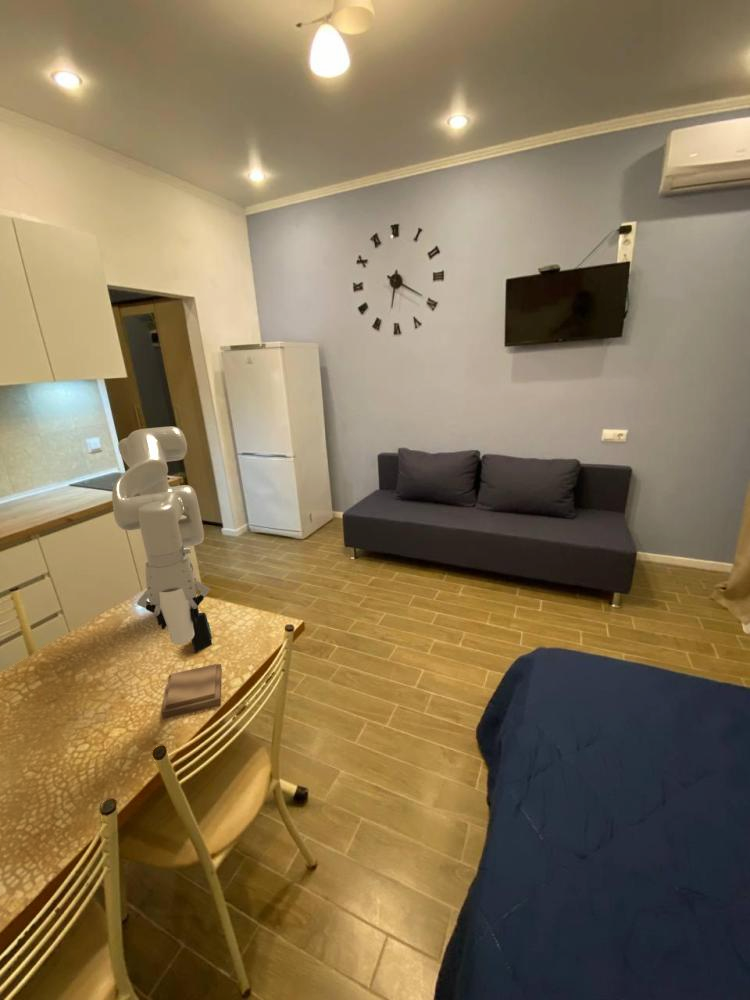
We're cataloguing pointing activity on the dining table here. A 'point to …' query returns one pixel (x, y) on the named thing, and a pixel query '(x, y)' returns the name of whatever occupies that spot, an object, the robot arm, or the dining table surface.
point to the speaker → (201, 633)
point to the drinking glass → (177, 616)
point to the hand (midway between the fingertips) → (179, 622)
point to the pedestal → (192, 690)
